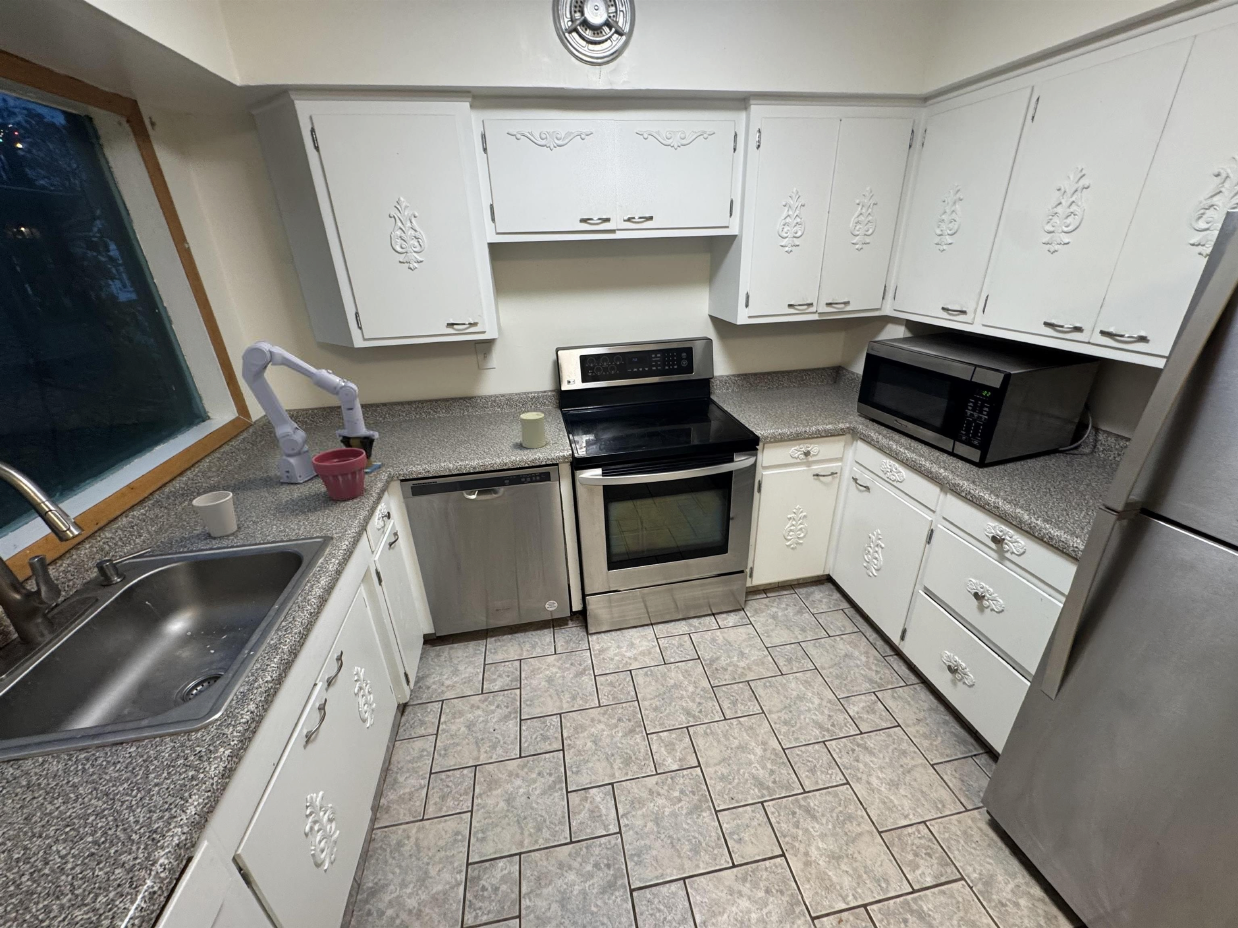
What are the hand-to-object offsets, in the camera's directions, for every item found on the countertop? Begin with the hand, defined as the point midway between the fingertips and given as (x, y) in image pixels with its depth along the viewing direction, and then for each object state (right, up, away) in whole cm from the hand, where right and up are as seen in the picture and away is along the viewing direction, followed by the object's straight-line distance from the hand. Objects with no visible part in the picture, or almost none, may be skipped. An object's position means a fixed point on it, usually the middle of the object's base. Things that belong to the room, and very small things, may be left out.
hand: (362, 457), depth 173 cm
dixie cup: (-17, -21, -38) cm, 47 cm away
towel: (0, -4, +1) cm, 4 cm away
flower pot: (+5, -12, -18) cm, 22 cm away
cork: (0, -3, +1) cm, 4 cm away
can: (+55, +5, +23) cm, 60 cm away
